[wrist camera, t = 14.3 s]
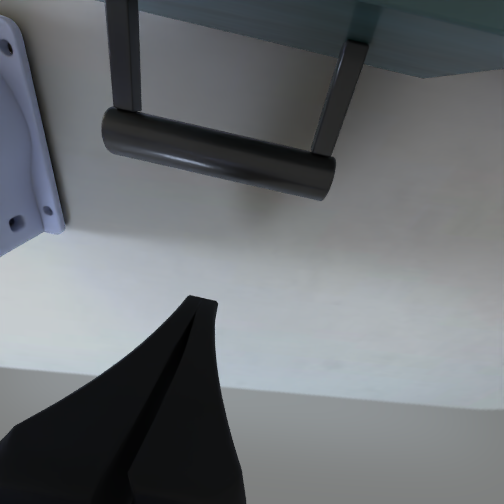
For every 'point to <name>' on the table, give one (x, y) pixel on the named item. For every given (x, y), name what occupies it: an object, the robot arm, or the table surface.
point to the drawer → (306, 38)
